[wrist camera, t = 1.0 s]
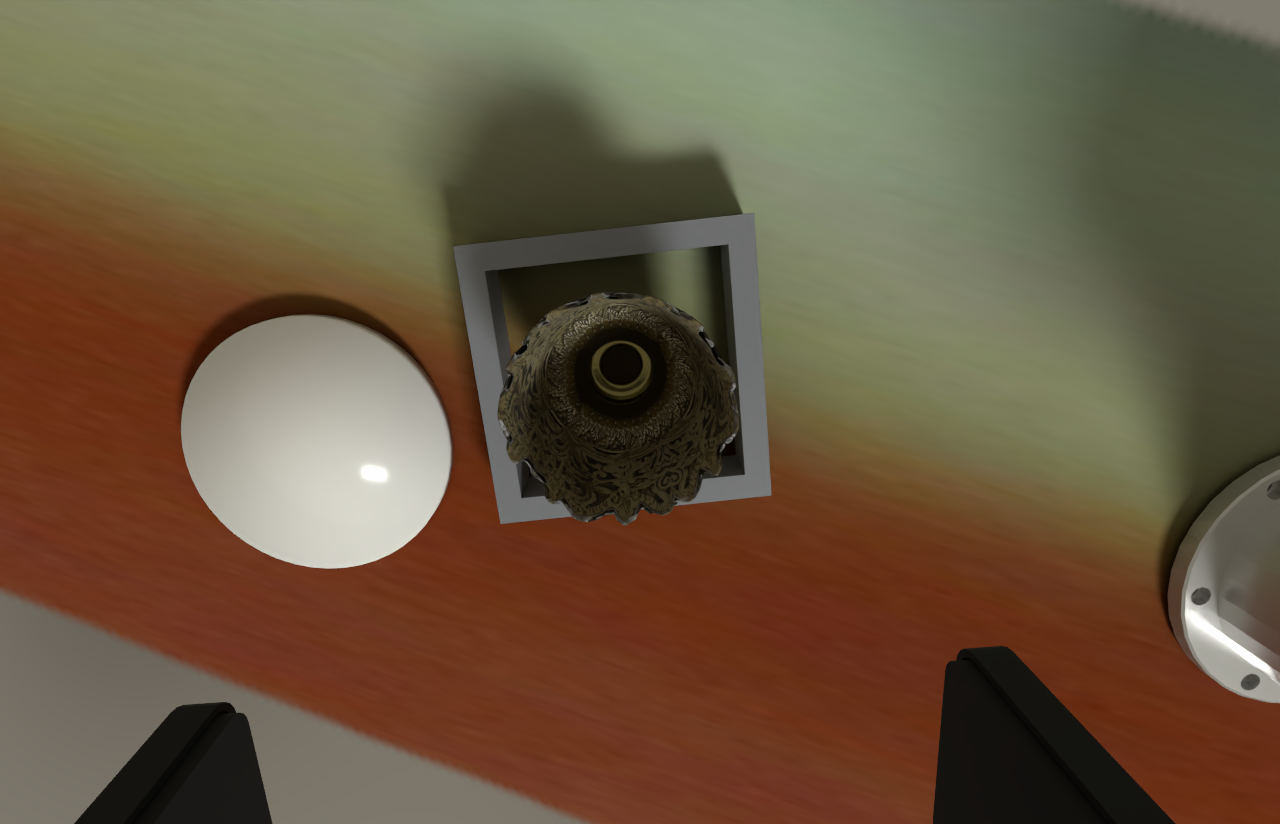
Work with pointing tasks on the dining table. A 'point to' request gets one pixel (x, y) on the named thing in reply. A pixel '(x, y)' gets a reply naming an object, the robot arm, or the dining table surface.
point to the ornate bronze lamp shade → (618, 407)
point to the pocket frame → (483, 260)
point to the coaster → (317, 440)
